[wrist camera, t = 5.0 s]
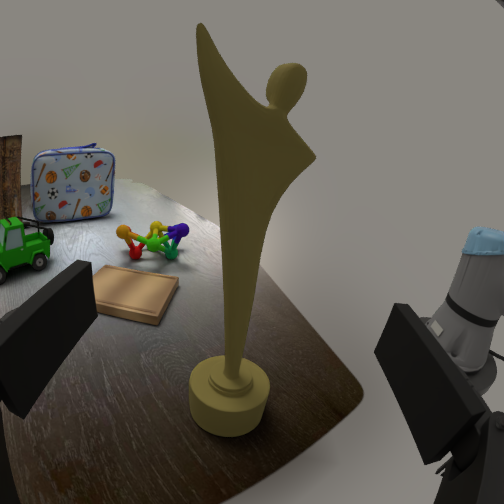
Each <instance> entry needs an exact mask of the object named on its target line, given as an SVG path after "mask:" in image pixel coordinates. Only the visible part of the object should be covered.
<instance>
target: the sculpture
mask: <svg viewBox="0 0 504 504" xmlns="http://www.w3.org/2000/svg"><path fill="white" fill-rule="evenodd" d="M196 39H197V56H198V65H199V72H200V78H201V83H202V88H203V92H204V96H205V101H206V105H207V109H208V114H209V118H210V122H211V127H212V133H213V139H214V148H215V161H216V173H217V188H218V201H219V216H220V234H221V249H222V270H223V291H224V325H225V356H215V357H211V358H208V359H206V360H204V361H202V362H200V363H199V364H198V365H197V366H196V367H195V368H194V369H193V371H192V373H191V376H190V380H189V404H190V411H191V415H192V417H193V419H194V420H195V422H196V423H197V424H198V425H199V426H200V427H201V428H202V429H204V430H205V431H207V432H209V433H212V434H214V435H217V436H223V437H236V436H241V435H244V434H246V433H248V432H250V431H252V430H253V429H254V428H255V427H256V426H257V425H258V424H259V422H260V420H261V418H262V414H263V411H264V408H265V404H266V401H267V398H268V394H269V390H270V383H269V379H268V377H267V375H266V374H265V372H264V371H263V370H262V369H261V368H260V367H259V366H257V365H256V364H254V363H253V362H251V361H249V360H247V359H244V358H242V355H243V350H244V345H245V341H246V336H247V331H248V326H249V321H250V316H251V311H252V305H253V300H254V294H255V288H256V282H257V276H258V269H259V263H260V257H261V252H262V247H263V243H264V238H265V234H266V230H267V227H268V224H269V221H270V218H271V215H272V213H273V211H274V209H275V207H276V205H277V203H278V201H279V200H280V198H281V196H282V195H283V194H284V192H285V191H286V189H287V188H288V187H289V185H290V184H291V183H292V182H293V181H294V180H295V179H296V178H297V176H298V175H299V174H300V173H301V172H303V170H305V169H306V168H307V167H308V166H309V165H310V164H311V163H313V162H314V160H315V159H316V156H315V154H314V153H313V151H312V150H311V149H310V148H309V147H308V146H307V144H306V143H305V142H304V141H303V139H302V138H301V137H300V136H299V135H298V133H296V131H295V130H294V129H293V127H292V126H291V125H290V123H289V121H288V119H287V115H288V113H289V112H290V110H291V109H292V108H293V107H294V106H295V104H296V103H297V102H298V100H299V99H300V97H301V95H302V94H303V92H304V89H305V86H306V82H307V71H306V69H305V68H304V67H303V66H302V65H300V64H297V63H288V64H283V65H280V66H278V67H277V68H276V69H275V70H274V71H273V72H272V74H271V76H270V78H269V80H268V84H267V88H266V97H267V100H268V101H269V103H270V104H269V106H268V107H265V106H263V105H261V104H260V103H258V102H257V101H256V100H255V99H254V98H253V97H252V96H251V95H250V94H249V93H248V92H247V91H246V90H245V88H244V87H243V86H242V85H241V84H240V83H239V81H238V80H237V79H236V77H235V76H234V75H233V73H232V72H231V71H230V69H229V68H228V66H227V65H226V63H225V62H224V60H223V58H222V57H221V55H220V54H219V52H218V50H217V48H216V46H215V44H214V43H213V41H212V39H211V37H210V35H209V33H208V31H207V30H206V28H205V26H204V25H203V24H202V23H200V24H198V25H197V28H196Z"/></svg>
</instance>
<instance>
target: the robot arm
mask: <svg viewBox="0 0 504 504" xmlns="http://www.w3.org/2000/svg"><path fill="white" fill-rule="evenodd" d="M496 1H497V2H498V3H499V4H500V5H501V6H502V7H503V8H504V0H496ZM462 253H463V254H462V257H461V260H460V263H459V265H458V268H457V271H456V274H455V277H454V279H453V281H452V284H451V287H450V289H449V292H448V294H447V297H446V299H445V301H444V303H443V304H442V305H441V306H440V308H439V309H438V310H437V311H436V312H435V314H434V315H433V316H432V318H431V319H430V320H428V321H427V322H426V324H424V323H423V322H422V321H421V319H420V318H419V317H418V316H417V314H416V313H415V312H414V311H413V310H412V308H411V307H410V306H409V305H408V304H400V303H394V306H393V308H392V311H391V313H390V316H389V318H388V321H387V323H386V325H385V328H384V330H383V333H382V335H381V337H380V339H379V341H378V344H377V346H376V348H375V350H374V353H375V355H376V357H377V359H378V361H379V363H380V366H381V367H382V370H383V372H384V374H385V376H386V378H387V380H388V382H389V384H390V386H391V388H392V390H393V393H394V395H395V397H396V399H397V401H398V403H399V406H400V408H401V410H402V412H403V415H404V417H405V419H406V421H407V424H408V426H409V428H410V431H411V433H412V435H413V438H414V440H415V443H416V445H417V448H418V450H419V452H420V455H421V457H422V460H423V462H424V465H427V464H431V463H433V462H437V461H440V460H441V459H442V458H443V457H444V456H445V455H446V454H447V453H448V452H449V451H451V453H452V457H451V458H450V459H449V460H448V461H447V462H445V463H444V464H443V465H442V466H441V467H440V468H439V469H438V470H437V471H436V473H435V474H438V473H440V472H441V471H442V470H443V469H444V468H445V472H443V473H442V474H441V476H443V478H442V482H441V484H440V487H439V490H438V493H437V496H436V499H435V501H434V504H504V413H503V412H499V411H496V412H493V413H492V412H491V411H490V409H489V407H488V406H487V404H486V403H485V401H484V400H483V398H482V397H481V395H480V394H479V392H478V391H477V389H476V388H474V385H473V383H472V382H471V381H470V380H469V378H468V376H467V375H473V374H476V373H478V372H479V371H480V370H481V369H482V367H483V365H484V364H485V362H486V359H487V357H488V353H489V354H491V355H493V356H495V357H497V358H499V359H501V360H503V361H504V357H503V356H501V355H499V354H497V353H495V352H493V351H492V350H490V345H491V341H492V337H493V332H494V329H495V326H496V324H497V322H498V320H499V318H500V316H501V315H503V316H504V232H503V231H499V230H495V229H491V228H486V227H475V228H473V229H472V230H471V231H470V233H469V235H468V238H467V241H466V244H465V246H464V248H463V250H462ZM97 317H98V314H97V308H96V301H95V293H94V285H93V275H92V265H91V262H87V261H82V260H76V261H75V262H74V263H72V264H71V265H70V266H68V267H67V268H66V269H65V270H63V271H62V272H61V273H59V274H58V275H57V276H56V277H54V278H53V279H52V280H51V281H49V282H48V283H47V284H46V285H45V286H43V287H42V288H41V289H40V290H38V291H37V292H36V293H35V294H34V295H33V296H31V297H30V298H29V299H28V300H27V301H26V302H24V303H23V304H22V305H21V306H20V307H19V308H16V309H14V310H12V311H10V312H8V313H6V314H5V315H4V316H3V317H2V318H1V319H0V402H1V400H3V402H4V404H5V405H6V407H7V408H8V410H9V411H10V412H12V413H14V414H15V415H17V416H19V417H20V418H22V419H25V417H26V416H27V414H28V413H29V411H30V409H31V408H32V406H33V405H34V403H35V402H36V400H37V399H38V397H39V396H40V394H41V393H42V391H43V390H44V388H45V387H46V385H47V384H48V382H49V381H50V379H51V378H52V377H53V375H54V374H55V372H56V371H57V370H58V368H59V367H60V365H61V364H62V363H63V361H64V360H65V358H66V357H67V356H68V354H69V353H70V352H71V350H72V349H73V348H74V346H75V345H76V344H77V342H78V341H79V340H80V338H81V337H82V336H83V334H84V333H85V332H86V331H87V329H88V328H89V327H90V325H91V324H92V323H93V322H94V320H95V319H96V318H97ZM0 504H20V500H19V497H18V494H17V491H16V487H15V484H14V480H13V476H12V472H11V468H10V463H9V458H8V453H7V448H6V442H5V436H4V429H3V420H2V412H1V408H0Z"/></svg>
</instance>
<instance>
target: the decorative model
mask: <svg viewBox="0 0 504 504" xmlns="http://www.w3.org/2000/svg"><path fill="white" fill-rule="evenodd" d="M150 230H151V231H150V232H149V233H148V234H147V236H146V237H142V236H140V235H138V234H135V233H133V232H131V229H130V227H128V226H126V225H120V226H119V227H118V228H117V230H116V234H117V236H118V237H119V238H121V239H124V240H125V241H126V243H127V245H128V246H129V248H130V251H129V255H130V257H131V258H132V259H139V258H140V257H141V255H142V248H143V247H144V246H145V245H147V249H148V250H149V251H151V252H156V251H158V250H160V251H162V252H164V253H165V255H166V257H167V258H168V259H175V258H176V257H177V255H178V250H177V249H176V248H177V246H178V244H179V242H180V240H181V238H182V237H185V236H187V235H188V233H189V227H188V225H187V224H185V223H180V224H178V225H174V226H163V225H162V224H161V222H159V221H155V222H153V223H152V224H151V225H150ZM162 231H166V232H168V233H166V234H164V235H163V233H162ZM158 236H159V237H158ZM157 237H158V238H157ZM172 238H173V239H172ZM132 239H134V240H136V241H138V242H141V243H140V244H139V245H138V246H135V245H134V243H133V241H132ZM170 239H172V243H171V246H170V245H169V243H168V240H170ZM162 243H163V245H164V246H165V247H164V246H162V245H161V244H162Z"/></svg>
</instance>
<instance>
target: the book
mask: <svg viewBox="0 0 504 504" xmlns="http://www.w3.org/2000/svg"><path fill="white" fill-rule="evenodd" d="M21 145H22V135H14V136H5V137H0V220H2V219H5V217H7V218H11V217H17V216H19V217H22V208H21V179H20V178H21V175H20V174H21V173H20V170H21ZM18 219H19V218H18ZM19 220H20V221H21V222H22V219H19ZM22 223H23V222H22Z"/></svg>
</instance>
